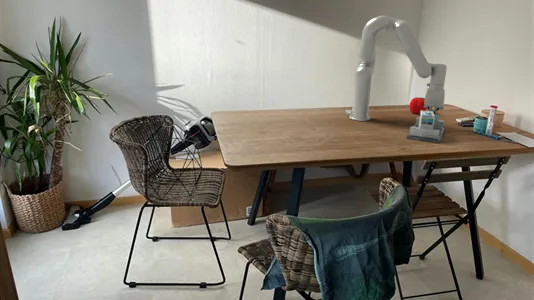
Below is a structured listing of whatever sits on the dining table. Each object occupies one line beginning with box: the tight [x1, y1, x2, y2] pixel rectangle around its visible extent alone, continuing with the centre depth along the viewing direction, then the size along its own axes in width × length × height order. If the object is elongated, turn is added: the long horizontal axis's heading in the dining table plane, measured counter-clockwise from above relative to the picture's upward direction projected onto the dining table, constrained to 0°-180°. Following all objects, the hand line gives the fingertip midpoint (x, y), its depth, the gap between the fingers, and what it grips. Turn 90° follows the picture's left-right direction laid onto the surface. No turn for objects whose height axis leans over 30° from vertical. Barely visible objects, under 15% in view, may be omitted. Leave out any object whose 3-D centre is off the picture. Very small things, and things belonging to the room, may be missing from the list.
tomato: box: [408, 96, 428, 115], centre depth 270 cm, size 11×13×10 cm
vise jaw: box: [415, 114, 445, 129], centre depth 237 cm, size 14×6×6 cm, turn 63°
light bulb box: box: [419, 110, 436, 129], centre depth 225 cm, size 11×7×11 cm, turn 165°
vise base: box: [406, 123, 445, 144], centre depth 228 cm, size 16×25×6 cm, turn 153°
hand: (431, 118), depth 244 cm, fingers closed
